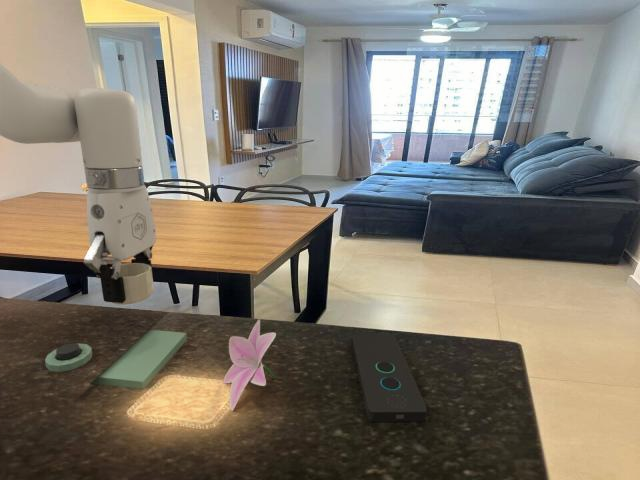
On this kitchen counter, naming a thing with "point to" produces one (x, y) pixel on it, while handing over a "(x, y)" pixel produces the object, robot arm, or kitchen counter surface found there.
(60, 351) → the dark grey puck
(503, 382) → the kitchen counter surface
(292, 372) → the kitchen counter surface
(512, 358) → the kitchen counter surface
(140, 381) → the mint green pieces
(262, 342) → the lily
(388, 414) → the smart home device
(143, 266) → the bowl
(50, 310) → the kitchen counter surface
